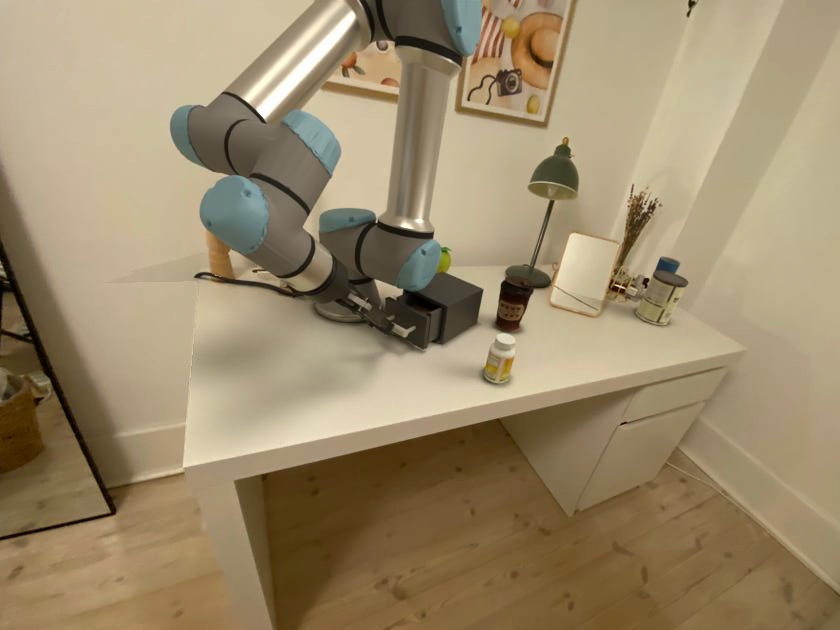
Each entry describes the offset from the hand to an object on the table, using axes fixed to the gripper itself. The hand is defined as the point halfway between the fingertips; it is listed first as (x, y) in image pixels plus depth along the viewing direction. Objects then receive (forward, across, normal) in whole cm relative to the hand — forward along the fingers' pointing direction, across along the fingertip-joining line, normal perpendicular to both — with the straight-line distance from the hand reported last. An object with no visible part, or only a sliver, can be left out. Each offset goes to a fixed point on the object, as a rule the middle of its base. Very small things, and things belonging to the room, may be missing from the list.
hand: (388, 329), depth 77 cm
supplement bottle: (+11, +22, +3) cm, 24 cm away
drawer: (+10, 0, +3) cm, 11 cm away
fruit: (+33, -20, +24) cm, 45 cm away
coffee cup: (+26, +13, +18) cm, 34 cm away
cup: (+69, +39, +60) cm, 100 cm away
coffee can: (+58, +42, +49) cm, 87 cm away
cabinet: (+17, 0, +9) cm, 19 cm away
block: (+9, 0, +4) cm, 10 cm away
